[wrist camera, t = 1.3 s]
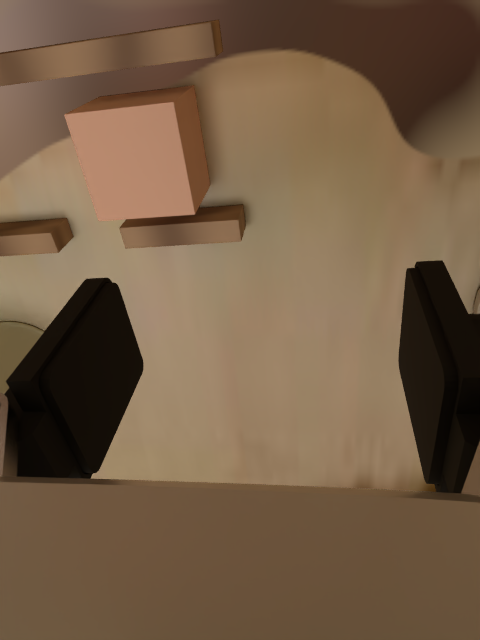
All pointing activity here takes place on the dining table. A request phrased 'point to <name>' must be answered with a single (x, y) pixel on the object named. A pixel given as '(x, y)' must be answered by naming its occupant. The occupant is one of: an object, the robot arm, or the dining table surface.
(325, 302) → the dining table surface
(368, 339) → the dining table surface
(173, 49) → the channel
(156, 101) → the block
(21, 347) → the can
